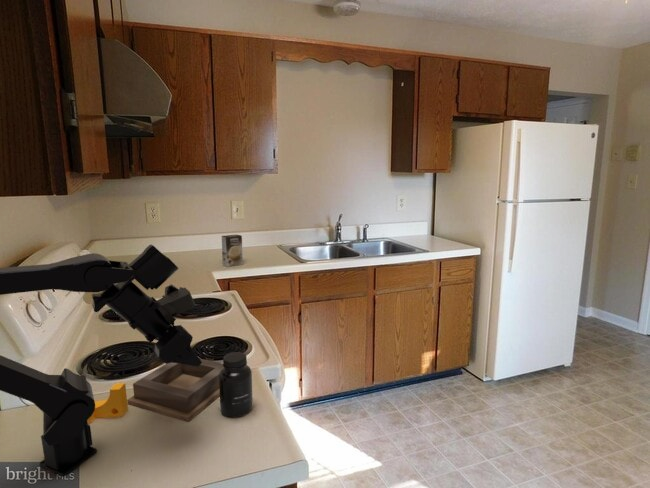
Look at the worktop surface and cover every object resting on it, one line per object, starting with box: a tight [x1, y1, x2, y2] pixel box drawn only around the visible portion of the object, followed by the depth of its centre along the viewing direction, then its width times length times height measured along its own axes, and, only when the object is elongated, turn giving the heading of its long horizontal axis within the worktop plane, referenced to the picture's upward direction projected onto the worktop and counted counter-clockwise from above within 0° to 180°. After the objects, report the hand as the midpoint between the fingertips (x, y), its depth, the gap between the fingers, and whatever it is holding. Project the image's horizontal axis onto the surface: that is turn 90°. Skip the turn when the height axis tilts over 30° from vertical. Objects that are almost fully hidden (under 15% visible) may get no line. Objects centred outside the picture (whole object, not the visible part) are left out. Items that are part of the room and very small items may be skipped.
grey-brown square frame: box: [127, 358, 223, 423], centre depth 92 cm, size 17×17×4 cm
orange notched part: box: [87, 382, 129, 424], centre depth 82 cm, size 12×4×6 cm, turn 93°
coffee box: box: [221, 234, 244, 268], centre depth 214 cm, size 9×6×16 cm
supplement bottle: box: [219, 351, 254, 418], centre depth 84 cm, size 7×7×12 cm
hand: (192, 355), depth 81 cm, fingers open, 9 cm apart
